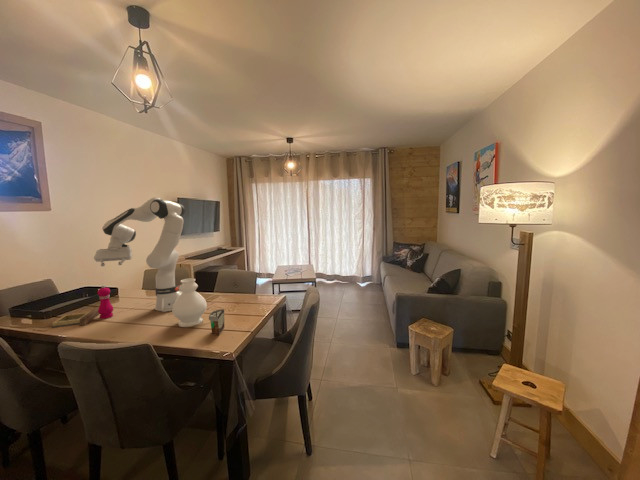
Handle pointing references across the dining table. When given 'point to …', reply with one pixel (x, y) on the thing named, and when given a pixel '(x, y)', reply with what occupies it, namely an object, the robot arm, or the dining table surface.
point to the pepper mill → (105, 303)
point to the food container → (217, 321)
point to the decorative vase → (189, 304)
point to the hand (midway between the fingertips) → (111, 265)
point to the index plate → (68, 320)
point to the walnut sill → (89, 316)
